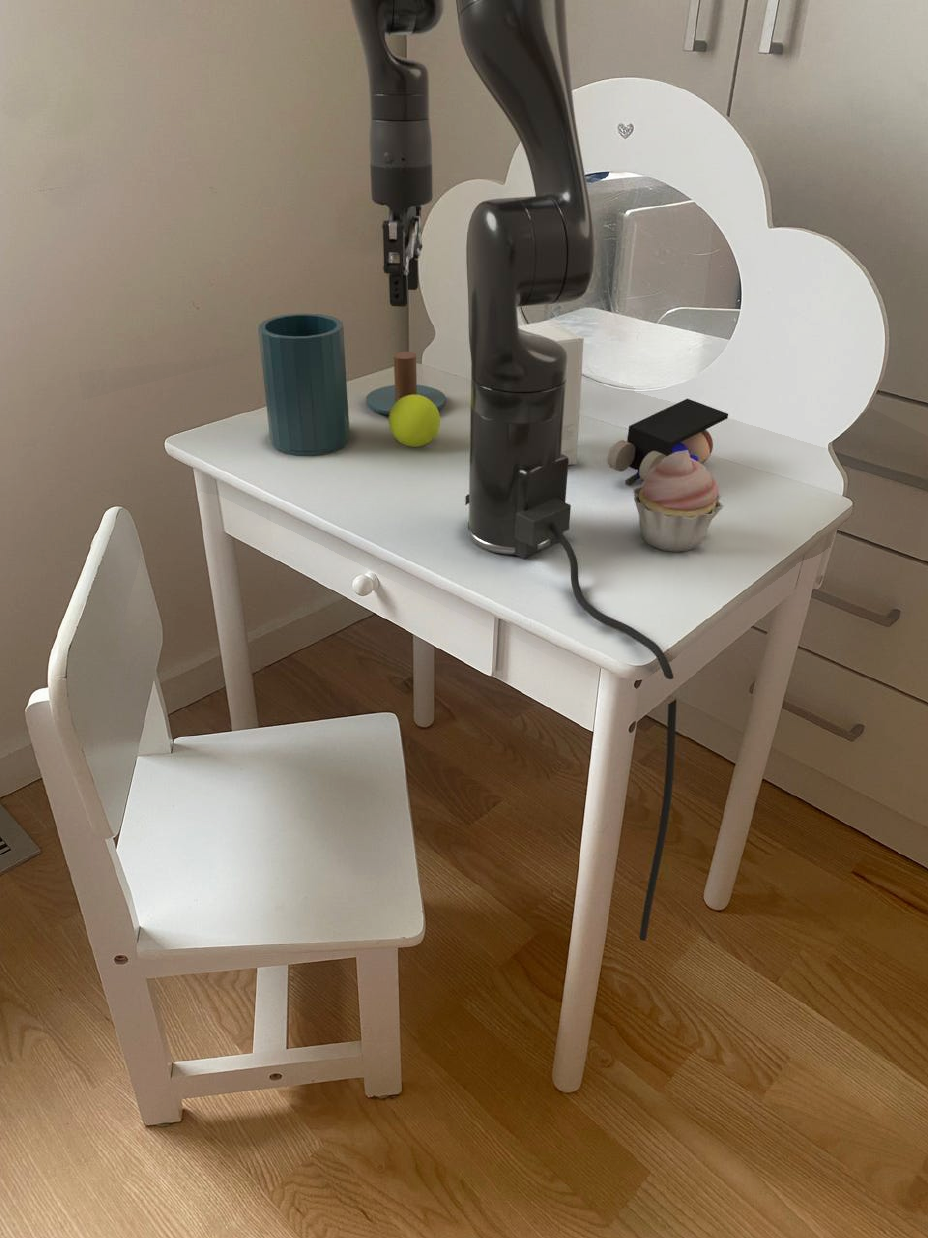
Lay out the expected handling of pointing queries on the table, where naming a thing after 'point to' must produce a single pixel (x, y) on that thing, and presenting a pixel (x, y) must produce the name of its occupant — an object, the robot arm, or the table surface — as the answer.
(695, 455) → the figurine character
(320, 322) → the tube
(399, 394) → the tube lid
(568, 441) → the cosmetic box
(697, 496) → the cupcake
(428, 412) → the tennis ball
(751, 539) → the table surface
